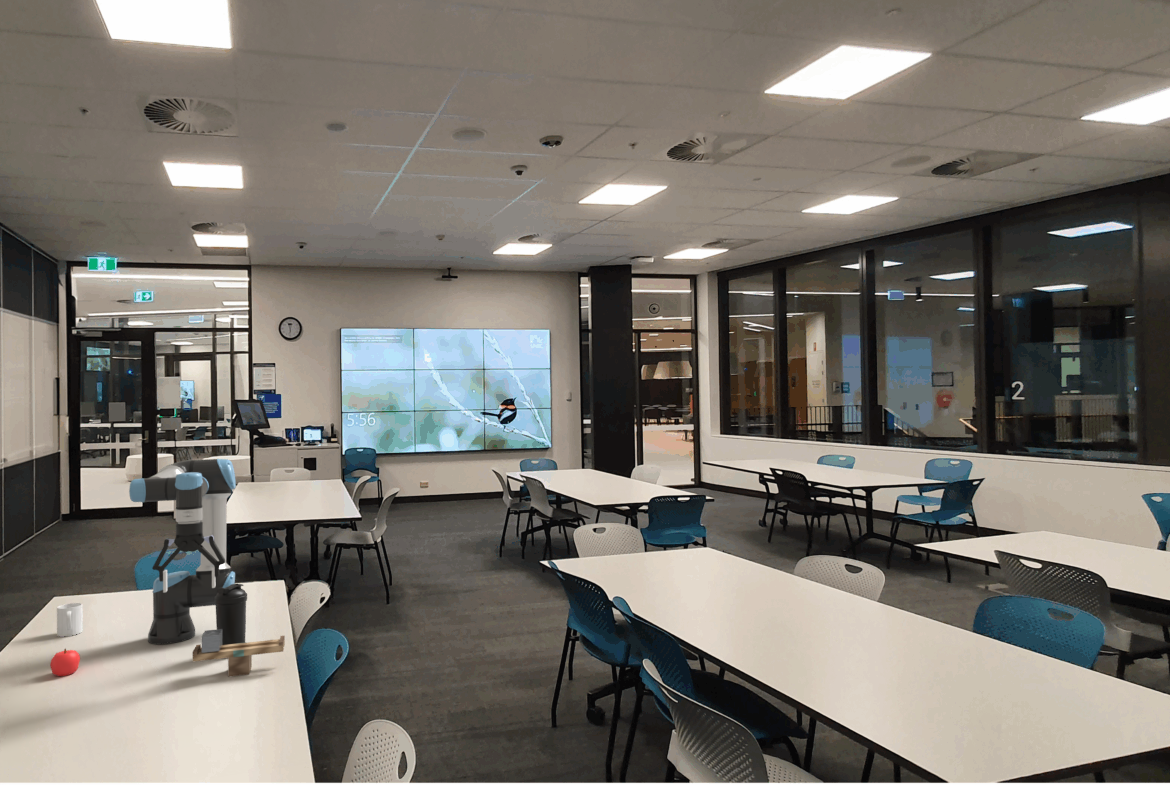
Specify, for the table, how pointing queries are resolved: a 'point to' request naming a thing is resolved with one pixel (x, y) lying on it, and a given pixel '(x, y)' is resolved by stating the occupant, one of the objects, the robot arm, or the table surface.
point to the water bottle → (231, 613)
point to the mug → (69, 619)
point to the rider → (212, 640)
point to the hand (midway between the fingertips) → (189, 589)
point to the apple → (65, 662)
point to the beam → (240, 654)
